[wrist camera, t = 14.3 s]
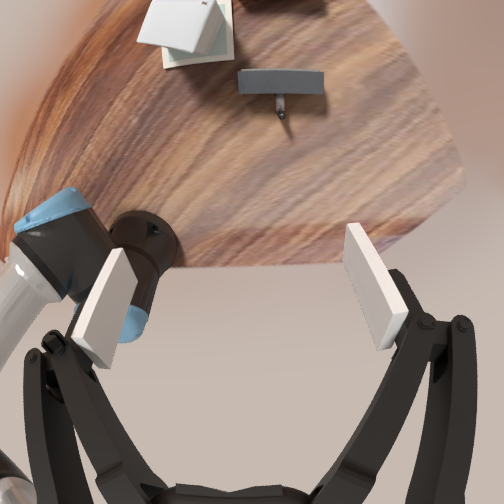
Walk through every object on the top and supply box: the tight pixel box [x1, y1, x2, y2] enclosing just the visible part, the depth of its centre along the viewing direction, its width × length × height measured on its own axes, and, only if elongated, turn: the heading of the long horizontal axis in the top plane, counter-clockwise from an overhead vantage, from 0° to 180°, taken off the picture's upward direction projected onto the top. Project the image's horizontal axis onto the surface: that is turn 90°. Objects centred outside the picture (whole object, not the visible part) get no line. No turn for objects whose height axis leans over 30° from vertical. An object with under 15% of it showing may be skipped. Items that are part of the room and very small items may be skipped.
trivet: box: [162, 0, 234, 69], centre depth 31 cm, size 11×11×1 cm
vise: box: [238, 68, 324, 120], centre depth 31 cm, size 12×24×5 cm, turn 2°
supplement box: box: [137, 0, 225, 56], centre depth 26 cm, size 7×7×13 cm
